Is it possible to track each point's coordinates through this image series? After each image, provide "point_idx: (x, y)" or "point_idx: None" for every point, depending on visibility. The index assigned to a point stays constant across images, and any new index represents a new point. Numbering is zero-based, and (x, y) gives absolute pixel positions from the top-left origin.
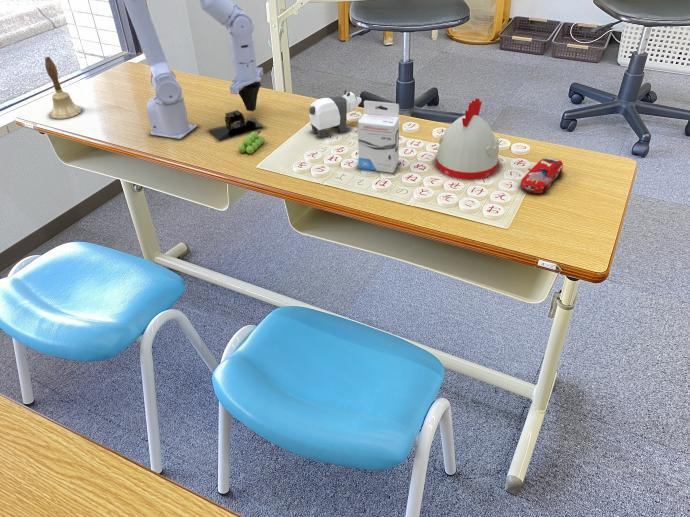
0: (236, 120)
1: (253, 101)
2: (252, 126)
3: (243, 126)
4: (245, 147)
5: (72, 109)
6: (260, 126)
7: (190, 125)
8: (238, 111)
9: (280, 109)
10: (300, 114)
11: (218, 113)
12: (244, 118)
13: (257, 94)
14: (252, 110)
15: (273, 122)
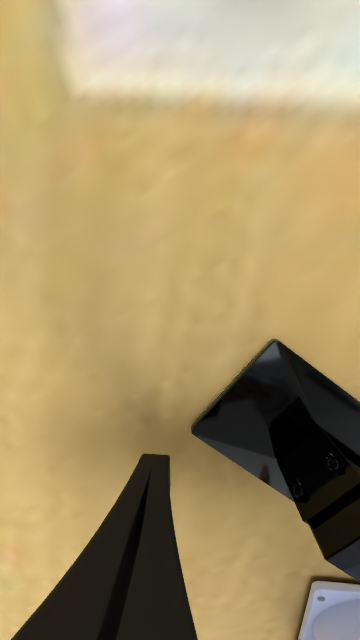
0: None
1: (163, 523)
2: (298, 391)
3: (325, 430)
4: None
5: None
6: (276, 355)
7: (324, 604)
8: (354, 550)
9: (42, 351)
10: (47, 215)
11: None
12: (339, 464)
13: (78, 561)
14: (169, 462)
15: (192, 318)
